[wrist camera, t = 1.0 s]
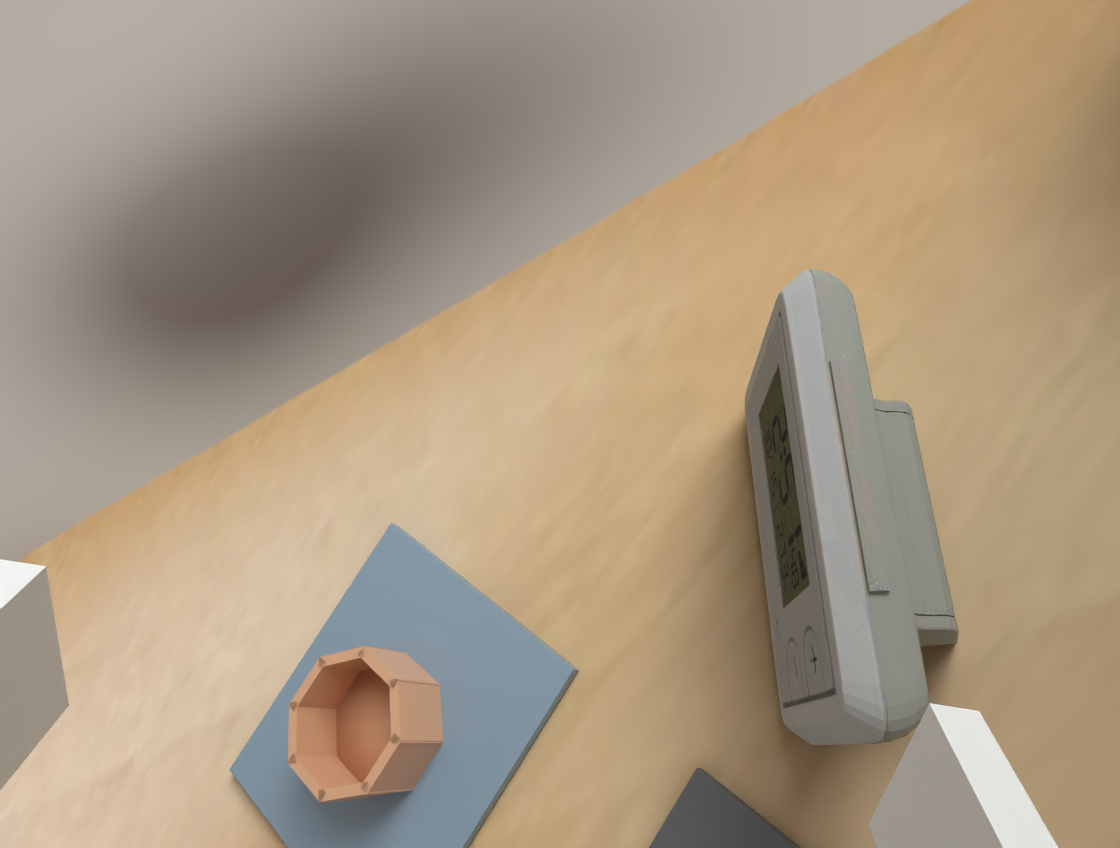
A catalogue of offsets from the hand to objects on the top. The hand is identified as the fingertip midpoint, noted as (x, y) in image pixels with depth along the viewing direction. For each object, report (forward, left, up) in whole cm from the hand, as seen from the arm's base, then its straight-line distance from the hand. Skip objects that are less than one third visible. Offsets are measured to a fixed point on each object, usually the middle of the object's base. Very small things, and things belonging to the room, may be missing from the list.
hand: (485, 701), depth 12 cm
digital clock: (-8, -2, -25) cm, 26 cm away
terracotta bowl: (+11, -16, -24) cm, 31 cm away
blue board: (+11, -16, -24) cm, 31 cm away
